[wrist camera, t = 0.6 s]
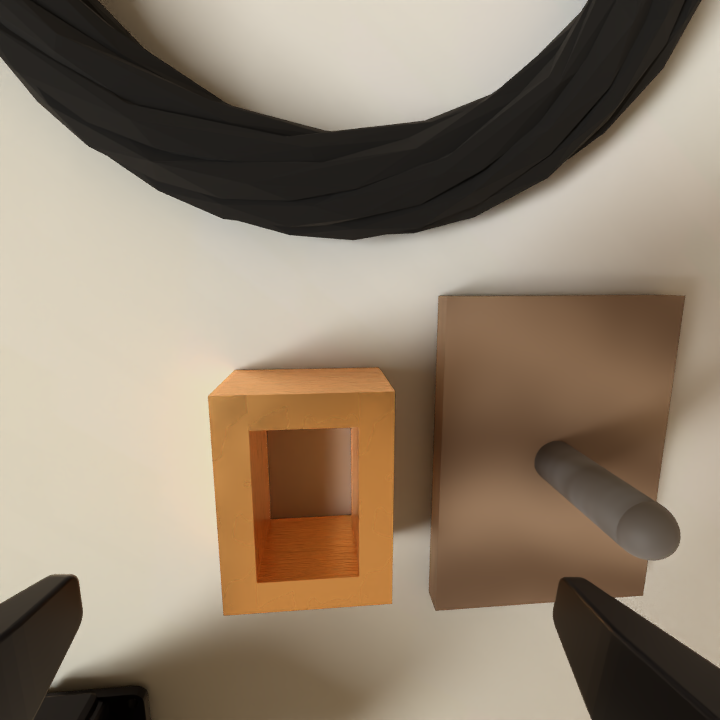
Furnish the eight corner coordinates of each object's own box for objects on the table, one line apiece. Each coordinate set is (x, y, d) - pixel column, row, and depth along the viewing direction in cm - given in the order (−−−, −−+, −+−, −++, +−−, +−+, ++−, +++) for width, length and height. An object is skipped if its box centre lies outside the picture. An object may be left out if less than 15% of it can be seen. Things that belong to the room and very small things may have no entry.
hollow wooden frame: (377, 537, 19) (391, 603, 15) (244, 545, 18) (223, 615, 14) (378, 367, 17) (394, 391, 14) (234, 370, 17) (207, 395, 13)
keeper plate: (624, 577, 21) (779, 728, 14) (428, 591, 20) (487, 759, 13) (661, 295, 18) (875, 301, 11) (438, 296, 17) (518, 303, 10)
